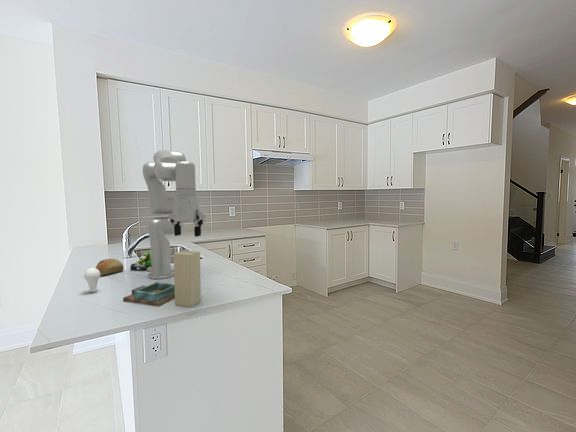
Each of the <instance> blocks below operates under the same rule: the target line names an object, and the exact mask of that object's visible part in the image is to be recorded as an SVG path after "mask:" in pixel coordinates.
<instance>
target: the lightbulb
mask: <svg viewBox="0 0 576 432" xmlns="http://www.w3.org/2000/svg"><path fill="white" fill-rule="evenodd" d="M100 277H101V276H100V271H99V270H98V269H96V267H90V268H88V269H86V270H85V271H84V273H83V278H84V279H85V281H86V282H87V285H88V287H89V292H91V293H95V292H96V291H97V288H98V287H97V286H98V281H99V279H100Z"/></svg>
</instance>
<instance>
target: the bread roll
mask: <svg viewBox="0 0 576 432" xmlns="http://www.w3.org/2000/svg"><path fill="white" fill-rule="evenodd" d="M95 268H96V269H98V270H99V271H100V277H101V276H105V275H110V274H114V273H119V272H122V271H123V270H124V265H123V263H122V262H121V261H120V260H119V259H116V258H106V259H103V260H100V261H99V262H98V263H97V265H96V266H95Z"/></svg>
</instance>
